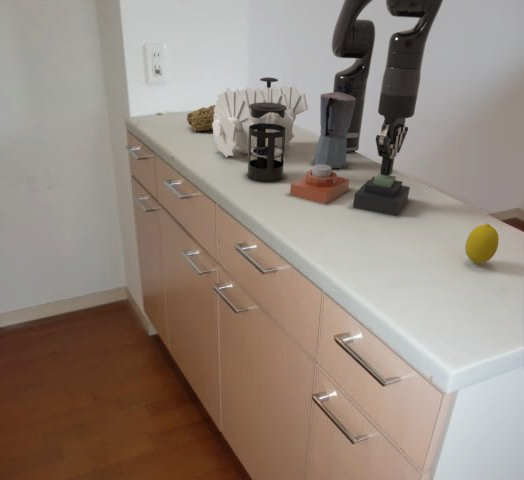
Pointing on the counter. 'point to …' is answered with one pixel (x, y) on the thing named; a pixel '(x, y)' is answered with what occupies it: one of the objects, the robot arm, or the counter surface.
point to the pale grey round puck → (321, 171)
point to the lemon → (481, 243)
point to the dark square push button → (381, 198)
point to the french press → (268, 167)
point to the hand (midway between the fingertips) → (385, 174)
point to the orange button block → (319, 187)
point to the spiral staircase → (239, 117)
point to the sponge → (201, 119)
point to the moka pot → (334, 128)
